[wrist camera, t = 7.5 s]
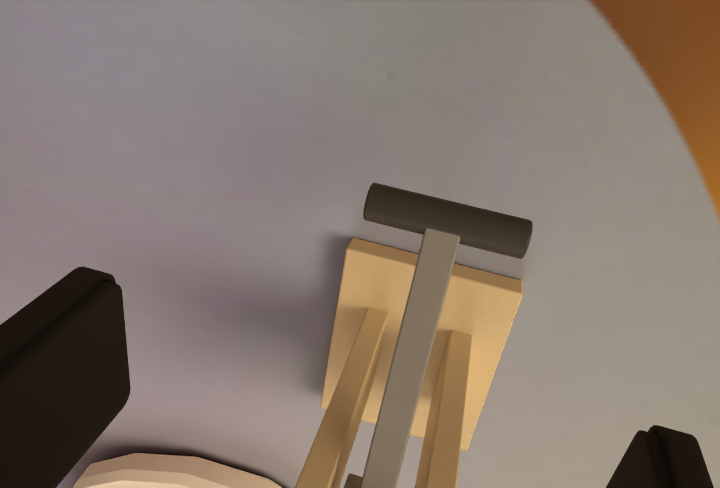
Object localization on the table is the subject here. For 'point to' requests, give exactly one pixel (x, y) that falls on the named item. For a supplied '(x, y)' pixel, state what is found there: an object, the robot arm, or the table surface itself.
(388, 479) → the lever
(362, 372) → the lever base
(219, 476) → the decorative plate
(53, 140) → the table surface
